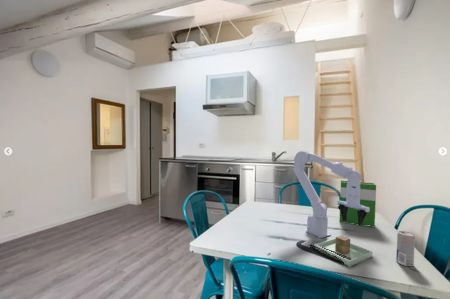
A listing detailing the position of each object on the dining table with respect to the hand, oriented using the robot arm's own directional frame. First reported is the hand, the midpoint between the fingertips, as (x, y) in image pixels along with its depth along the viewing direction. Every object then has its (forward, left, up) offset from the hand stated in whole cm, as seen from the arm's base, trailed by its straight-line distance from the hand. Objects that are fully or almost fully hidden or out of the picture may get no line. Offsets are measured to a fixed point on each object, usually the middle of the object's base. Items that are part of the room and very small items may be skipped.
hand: (352, 222), depth 110 cm
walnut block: (+6, -17, -8) cm, 20 cm away
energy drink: (+23, -3, -9) cm, 25 cm away
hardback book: (-13, +27, -9) cm, 31 cm away
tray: (+6, -17, -8) cm, 20 cm away
